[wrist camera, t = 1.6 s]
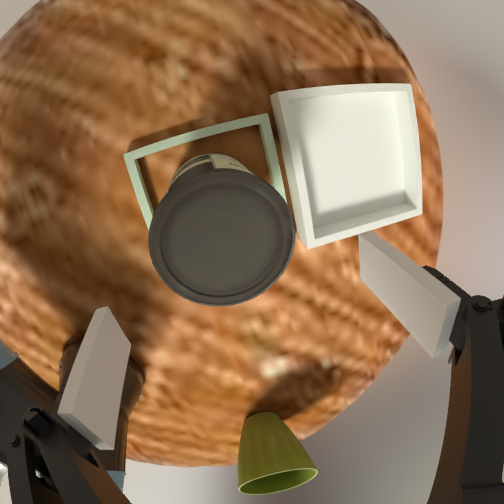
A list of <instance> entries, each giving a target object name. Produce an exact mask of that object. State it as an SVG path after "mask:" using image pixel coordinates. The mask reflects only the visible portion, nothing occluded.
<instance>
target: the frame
mask: <svg viewBox="0 0 504 504" xmlns="http://www.w3.org/2000/svg"><path fill="white" fill-rule="evenodd" d="M256 124H258V126H259V130H260V134H261V139H262V143H263V147H264V152H265V156H266V161H267V165H268V170H269V174H270V179H271V184H272V186H273V187H274V188H275V189H276V190H277V191H278V192H279V193H280V194H281V196H282V197H283V198H284V200H285V201H286V195H285V190H284V185H283V180H282V175H281V171H280V166H279V161H278V156H277V152H276V147H275V142H274V138H273V133H272V129H271V125H270V120H269V116H268V113H265V114H260V115H256V116H251V117H246V118H242V119H237V120H233V121H229V122H225V123H221V124H217V125H213V126H209V127H205V128H202V129H198V130H195V131H191V132H188V133H184V134H181V135H178V136H175V137H171V138H168V139H165V140H162V141H159V142H156V143H153V144H150V145H147V146H145V147H142V148H139V149H136V150H134V151H131V152H128V153H126V154H123V156H124V159H125V162H126V166H127V169H128V172H129V175H130V178H131V181H132V184H133V188H134V191H135V193H136V196H137V199H138V202H139V205H140V208H141V211H142V214H143V216H144V219H145V222H146V225H147V227H148V230H149V228H150V224H151V220H152V217H153V215H154V210H153V207H152V204H151V201H150V198H149V195H148V192H147V189H146V186H145V183H144V180H143V177H142V173H141V170H140V167H139V164H138V160H137V159H138V158H141V157H143V156H146V155H149V154H152V153H155V152H158V151H161V150H164V149H167V148H170V147H173V146H176V145H180V144H183V143H186V142H190V141H193V140H196V139H200V138H204V137H207V136H211V135H215V134H218V133H222V132H226V131H230V130H234V129H239V128H243V127H247V126H252V125H256ZM286 203H287V201H286ZM294 245H295V244H294Z"/></svg>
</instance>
